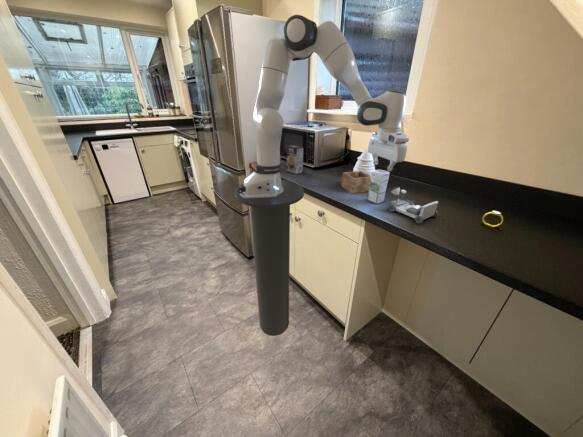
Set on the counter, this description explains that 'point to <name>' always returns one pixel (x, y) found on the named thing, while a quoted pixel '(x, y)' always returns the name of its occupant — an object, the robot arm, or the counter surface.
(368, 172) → the honey pot
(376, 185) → the syrup box
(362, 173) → the box
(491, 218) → the counter surface
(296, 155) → the coffee box
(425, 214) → the toy car
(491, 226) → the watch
